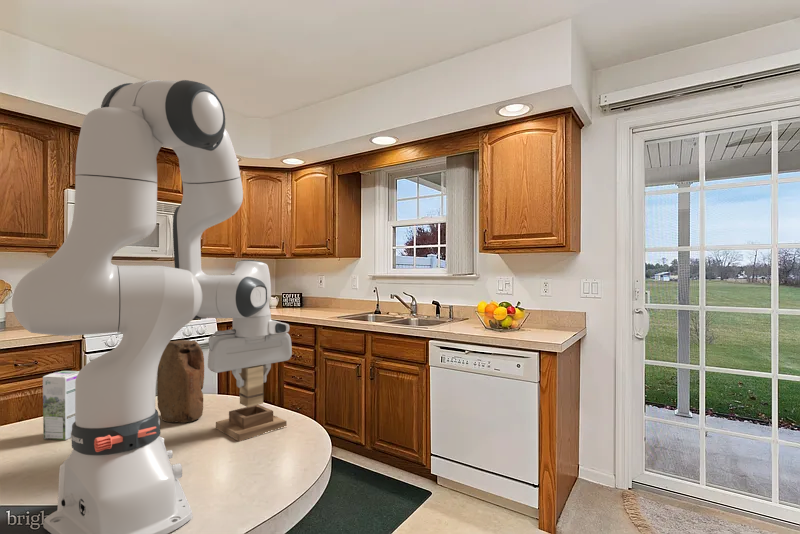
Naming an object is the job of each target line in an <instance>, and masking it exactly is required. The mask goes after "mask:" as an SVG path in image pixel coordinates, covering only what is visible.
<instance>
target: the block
mask: <svg viewBox="0 0 800 534" xmlns="http://www.w3.org/2000/svg"><path fill="white" fill-rule="evenodd" d="M204 382H205V357H204V351H203V350H202V348H201V346H200V344H199V343H198V341H196V340H195V339H194V340H190V339H179V340H178V339H177V340H170V342H169V343H168V345H167V346H166V348H165V350H164V352H163V354H162V356H161V359H160V362H159V366H158V371H157V380H156V390H157V391H156V393H157V395H156V396H157V408H158V409H157V410H158V412H159V413H160V419H161V420H162V421H164V422H167V423H178V424H179V423H180V424H181V423H186V424H187V423H190V422H194V421H197V420H199V419H200V418H201V417H202V416H203V413H204V393H203V391H202V390H203V388H204Z"/></svg>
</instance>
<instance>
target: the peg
mask: <svg viewBox="0 0 800 534" xmlns="http://www.w3.org/2000/svg"><path fill="white" fill-rule="evenodd" d="M239 374H240V376H241V378H244V379H246V383H245V384H246V386H244V387H240V388H239V394H238V395H239V404H240V405H242V406H244V407H250V406H254V405H262V404H264V383H263V366H262V365H259V366H253V367H247V368H242V369H241V373H239Z"/></svg>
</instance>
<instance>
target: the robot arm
mask: <svg viewBox="0 0 800 534" xmlns="http://www.w3.org/2000/svg"><path fill="white" fill-rule="evenodd" d="M162 147H163V148H170V149H172V150H173V152H175V154H176V156H177V158H178V164H179V165H178V166H179V171H180V177H181V181H182V200H181V204H180V205H178V206H177V207H176V208H175V210H174V213H173V216H172V239H173V240H172V241H173V242H172V243H173V261H174V264H173V265H174V267H172V266H165V265H117V264H113V263H112V259H113V256H114V255H115V254H116V253H117V251H119V250H120V249H122V248H125V247H128V246H131V245H133V244H135V243H138V242H141V241H142V240H144V239H146V238H147V237H149V236H151V234H152V233H153V232H154V230H155V229H156V227H157V221H158V220H157V219H158V218H157V217H158V216H157V215H158V214H157V213H158V164H157V163H158V162H157V156H158V154H159V151H160V149H162ZM74 178H75V180H74V181H75V185H74V191H75V192H74V206H73V216H72V221H71V227H70V229H69V232H68V234H67V236H66V238H65V240H64V242H63V243H62V245H61V246H60V247H59V248H58V250H57V251H56V252H55V253H54V254H53V255H52V256H51V257H50V258H49V259H48V260H46V261H45V262H44V263H42V264H41V265H39V266H37V267H35V268H33V269H32V270H31V271H29V272H27V273H26V274H25V275H24V276H23V277H22V278H21V279H20V280H19V281H18V283H17V285H16V286H15V288H14V290H13V293H12V299H11V307H12V311H13V315H14V317H15V319H16V320H17V321H18V323H19V324H20V325H21V326H22V327H23V328H24V329H25V330H26V331H28V332H30V333H31V334H40V335H50V336H51V335H52V336H61V337H62V336H65V337H71V336H82V335H84V336H85V335H96V334H97V335H98V334H112V333H119V334H122V337H121V340H120V341H119V344H118V345H117V346H116V347H114V348H113V349H112V350H109V351H107V352H105V353H104V354H101V355H100V356H98V357H95V358H94V359H92V360H91V361H89V362H88V363H86V364H85V365H84V366H83V367H82V368H81V369H80V370H79V371H80V372H79V373H78V375H77V377H76V381H75V422H74V423H73V425H72V432H71V438H70V439H71V448H72V451H71V453H70V454H69V455H68V457H67V458H66V459H65V460H64V461H63V462H62V463H61V464H60V466H59V472H58V473H59V474H58V492H57V496H58V497H57V510H55V511H53V512H52V513H51V514H48V516H46V517H45V518H44V519H43V526H42V527H43V529H45V530H46V531H47V532H49V533H50V534H170V533H171V532H174V531H176V530H177V529H179V528H181V527H182V526H184V525H185V524H187V522H189V521H190V520H191V519H192V518H193V511H192V507H191V505H190V503H189V500H188V499H187V496H186V493H185V492H184V489H183V487H182V485H181V482H180V480H179V479H181V478H182V477H183V466H182V463H180V462H178V463H175V464H171V462H170V459H172V458H173V450H172V449H170V450H169V449H168V450H167V448H166V445H165V438H164V437H162V436H160V435H161V433H162V432H161V420H160V419H161V418H160V417H159V410H158V409H156V396H157V395H156V393H157V391H156V390H157V377H158V366H159V362H160V359H161V356H162V354H163V352H164V350H165V348H166V346H167V345H168V343H169V342H170V341H172V339H173V338H174V337H175V336H176V335H177V334H178V332H180V331H181V330H182V329H183V328H184V327H185V326H186V325H188V324H189V323H191V322H192V321H193V320H203V319H205V320H206V319H232V328H231V329H226V330H217V331H215V332H213V333H212V334H210V336H209V337H208V349H209V351H208V355H207V368H208V369H209V370H210V371H211V372H212V373H215V374H217V373H218V374H219V373H224V372H230V371H231V374H232V375H233V377H234V379H236V383H235V384H236V387H237V388H238V389H240V387H244V386H246V384H245V383H246V379H244V378H241V376H240V373H241V369H242V368H247V367H253V366H259V365H261V366H263V384H264V383H267V376H268V374H269V372H270V371H271V368H272V364H276V363H280V362H286V361H287V362H288V361H289V360H291V358H292V355H293V351H292V350H293V349H292V338H291V336H290V334H289V332H290V324H289V323H286V322H281V321H278V320H275V319H272V311H271V309H270V308H271V307H270V302H271V298H272V284H271V283H272V282H271V274H270V269H269V266H268V264H267V263H265V262H264V261H260V260H255V259H243V260H242V259H241V260H238V261H237V262H235V265H234V266H235V267H234V271H233V272H232V273H230V274H207V273H205V272H204V271H203V269H202V252H201V251H202V250H201V249H202V248H201V245H202V244H201V239H202V236H203V233H204V232H205V231H206V230H207V229H209V228H211V227H214V226H217V225H219V224H220V223H223V222H225V221H227V220H229V219H230V218H231V217H233V216H234V215H235V214H236V213H238V211H239V210H240V208H241V206H242V203H243V201H244V199H243V198H244V190H243V189H244V188H243V183H242V176H241V170H240V166H239V161H238V158H237V154H236V151H235V148H234V144H233V142H232V139H231V135H230V134H229V132H228V131H227V129H226V114H225V109H224V105H223V103H222V101H221V99H220V98H219V96H218V95H217V94H216V92H215V91H214V90H213V89H212V88H211V87H210V86H209V85H207V84H204V83H201V82H198V81H195V80H194V81H193V80H187V79H182V80H178V81H177V80H160V79H154V80H153V79H152V80H142V81H137V82H134V83H131V82H129V83H127V82H126V83H122V84H120V85H119V84H118V85H117V86H115V87H113V88H112V89H110V90H109V91H108V92H107V93H106V94H105V95H104V97H103V99H102V102H101V104H100V107H99V108H96V109H92V110H91V111H89V112H87V113H86V114H85V116H84V118H83V120H82V123H81V127H80V132H79V136H78V142H77V149H76V159H75V177H74Z"/></svg>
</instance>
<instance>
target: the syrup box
mask: <svg viewBox="0 0 800 534" xmlns="http://www.w3.org/2000/svg"><path fill="white" fill-rule="evenodd" d="M79 372H80V370H78V371H77V370H61V371H55V372H53V373H52V372H51V373H49V374H46V375H44V376H42V415H43V416H42V419H43V420H42V422H43V423H42V424H43V431H42V435H43V437H42V438H43V440H56V441H58V440H60V441H61V440H62V441H66V440H69V439H71V432H72V425H73V423H74V422H75V381H76V377H77V375H78V373H79Z"/></svg>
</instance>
